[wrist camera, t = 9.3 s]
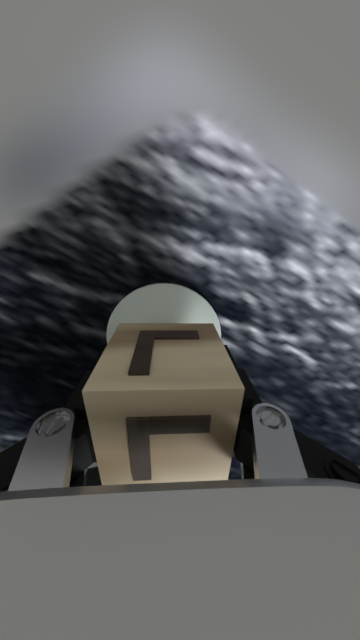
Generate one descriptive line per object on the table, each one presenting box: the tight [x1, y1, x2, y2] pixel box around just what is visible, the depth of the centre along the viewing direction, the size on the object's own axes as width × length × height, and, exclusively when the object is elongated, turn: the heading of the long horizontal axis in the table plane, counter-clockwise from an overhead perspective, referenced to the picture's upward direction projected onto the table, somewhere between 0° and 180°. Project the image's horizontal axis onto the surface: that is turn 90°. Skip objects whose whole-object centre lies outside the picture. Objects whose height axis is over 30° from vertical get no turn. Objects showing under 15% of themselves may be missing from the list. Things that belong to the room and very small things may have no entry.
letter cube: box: [82, 323, 245, 485], centre depth 9 cm, size 5×5×5 cm
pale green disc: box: [106, 283, 221, 344], centre depth 15 cm, size 8×8×1 cm
